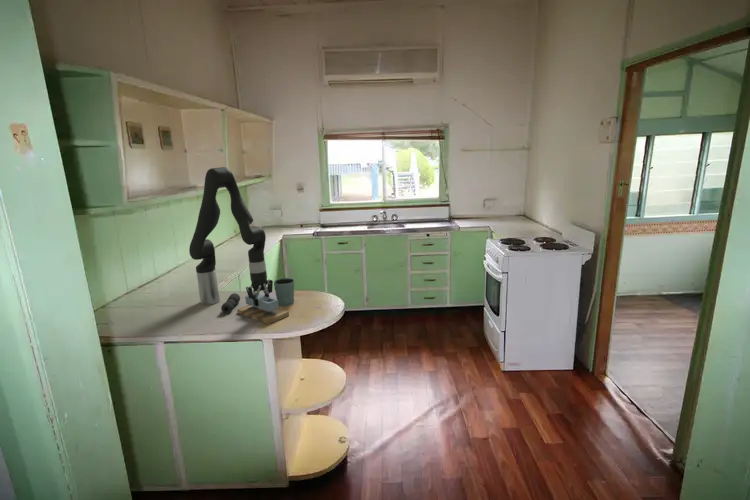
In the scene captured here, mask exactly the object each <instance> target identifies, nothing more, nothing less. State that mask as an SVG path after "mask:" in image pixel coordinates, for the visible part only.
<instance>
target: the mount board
mask: <svg viewBox="0 0 750 500" xmlns="http://www.w3.org/2000/svg"><path fill="white" fill-rule="evenodd" d="M236 311H237V314H239V315H241V316H244V317H247V318H250V319H253V320H256V321H259V322H261V323H263V324H265V325H270V324H273V323H275V322H278V321H280V320H282V319H284V318H286V317H289V316H290V311H288V310H285V309H282V308H280V307H279V308H277V309H275V310H272V311H270V312H269V311H266V310H263V309H260V308H257V307H254V306H251V305H248V304H246V305H245V306H242V307H239V308H237V309H236Z"/></svg>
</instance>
